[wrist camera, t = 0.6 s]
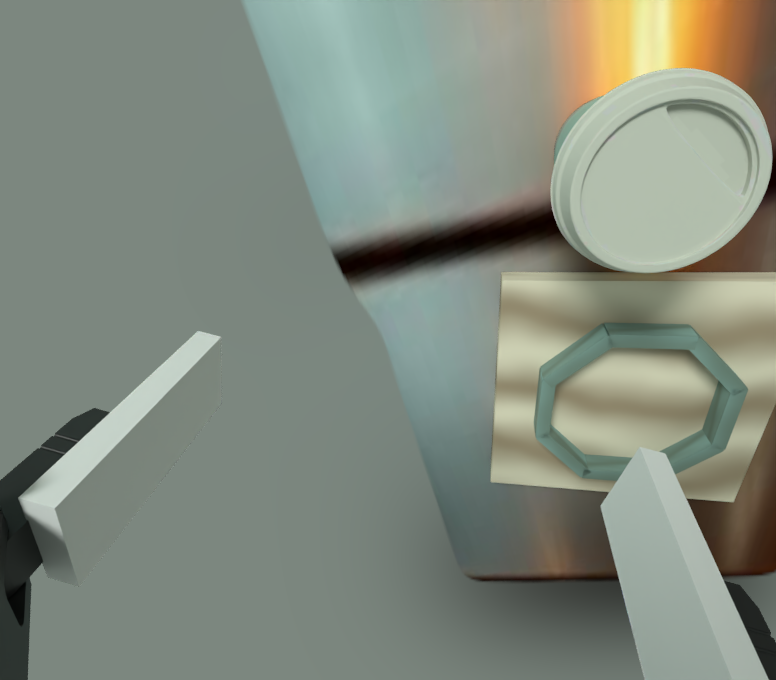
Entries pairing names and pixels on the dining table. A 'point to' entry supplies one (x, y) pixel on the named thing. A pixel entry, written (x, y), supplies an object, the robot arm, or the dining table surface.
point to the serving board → (633, 376)
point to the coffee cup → (660, 170)
